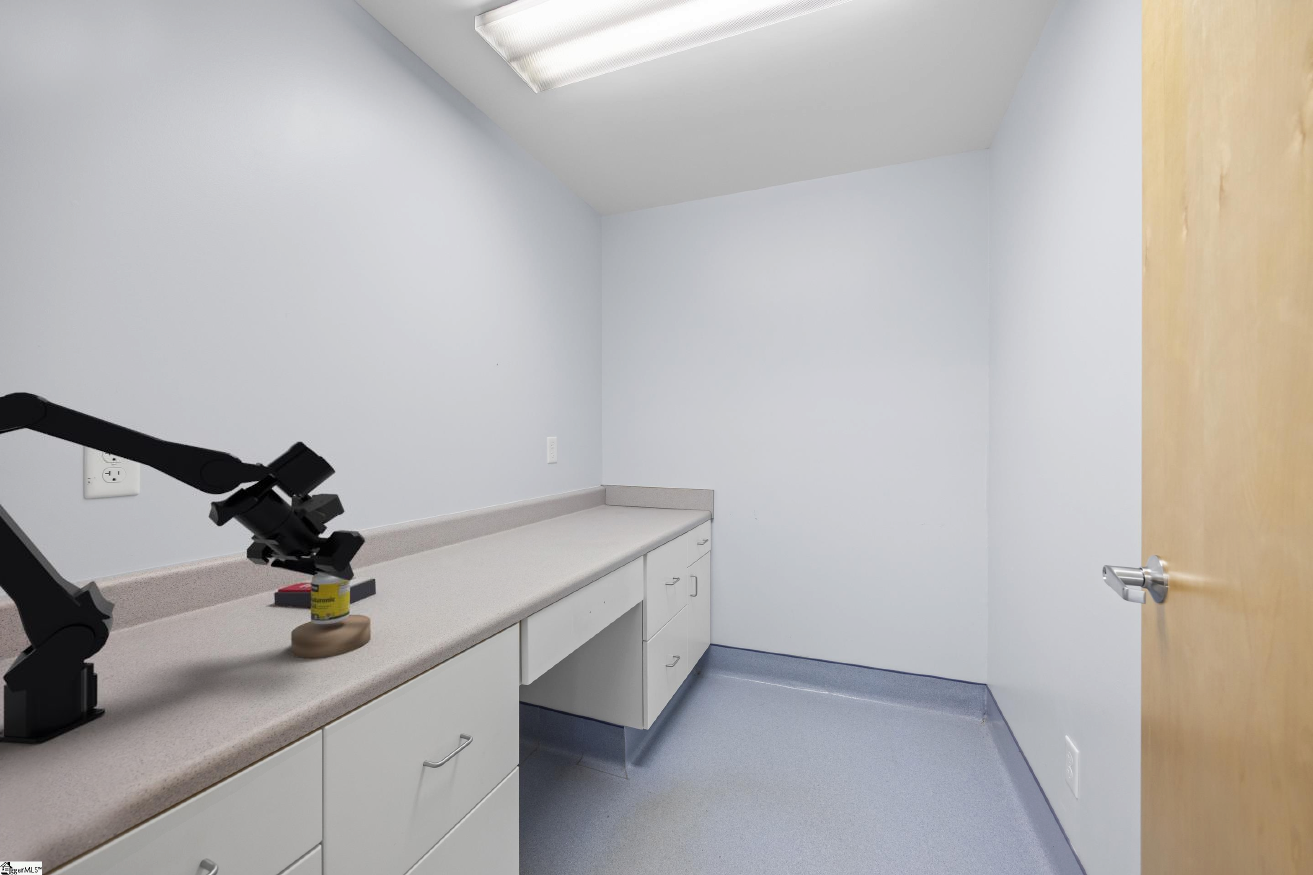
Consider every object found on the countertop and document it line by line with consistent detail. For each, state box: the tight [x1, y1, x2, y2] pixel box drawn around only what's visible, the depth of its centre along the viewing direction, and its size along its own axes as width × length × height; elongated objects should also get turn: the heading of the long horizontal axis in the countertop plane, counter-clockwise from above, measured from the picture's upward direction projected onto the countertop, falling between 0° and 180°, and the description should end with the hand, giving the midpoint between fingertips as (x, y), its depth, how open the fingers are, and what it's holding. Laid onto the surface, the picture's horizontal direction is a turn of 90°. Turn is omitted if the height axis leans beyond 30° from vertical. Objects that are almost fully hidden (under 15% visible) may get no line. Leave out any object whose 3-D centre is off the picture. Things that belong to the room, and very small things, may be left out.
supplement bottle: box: [310, 567, 351, 624], centre depth 84 cm, size 5×5×10 cm
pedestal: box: [290, 614, 372, 659], centre depth 85 cm, size 11×11×3 cm
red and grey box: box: [273, 576, 377, 608], centre depth 109 cm, size 11×4×15 cm
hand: (338, 576), depth 86 cm, fingers closed on supplement bottle, 5 cm apart
